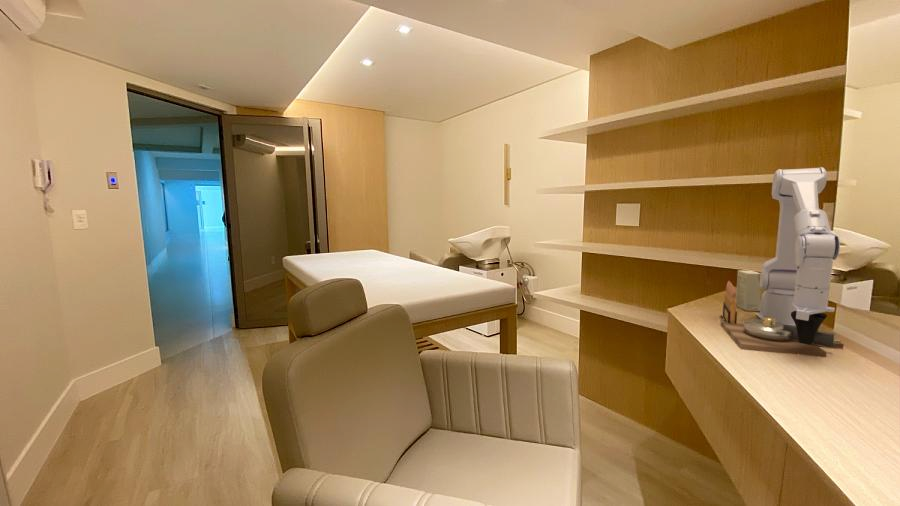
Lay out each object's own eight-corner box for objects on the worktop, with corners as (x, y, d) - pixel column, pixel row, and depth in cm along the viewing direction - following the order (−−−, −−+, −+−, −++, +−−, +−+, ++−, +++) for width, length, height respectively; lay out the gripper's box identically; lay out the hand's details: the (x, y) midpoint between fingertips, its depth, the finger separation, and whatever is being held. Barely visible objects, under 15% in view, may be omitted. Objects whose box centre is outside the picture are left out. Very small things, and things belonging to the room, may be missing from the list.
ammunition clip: (736, 329, 107) (738, 288, 105) (728, 328, 108) (730, 287, 106) (729, 318, 116) (732, 280, 115) (722, 317, 117) (724, 279, 116)
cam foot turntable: (738, 332, 99) (739, 317, 98) (750, 324, 105) (751, 310, 104) (829, 352, 86) (831, 335, 85) (837, 341, 92) (839, 325, 91)
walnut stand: (720, 325, 110) (721, 320, 109) (820, 333, 101) (821, 328, 101) (741, 348, 93) (741, 343, 93) (862, 360, 85) (862, 354, 85)
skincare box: (760, 311, 121) (764, 273, 119) (745, 311, 122) (748, 273, 120) (749, 305, 127) (752, 269, 125) (734, 305, 128) (737, 269, 126)
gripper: (830, 295, 79) (823, 357, 81) (842, 283, 88) (835, 340, 90) (786, 289, 85) (780, 347, 87) (801, 279, 93) (795, 332, 95)
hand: (805, 343), depth 89 cm, fingers closed
